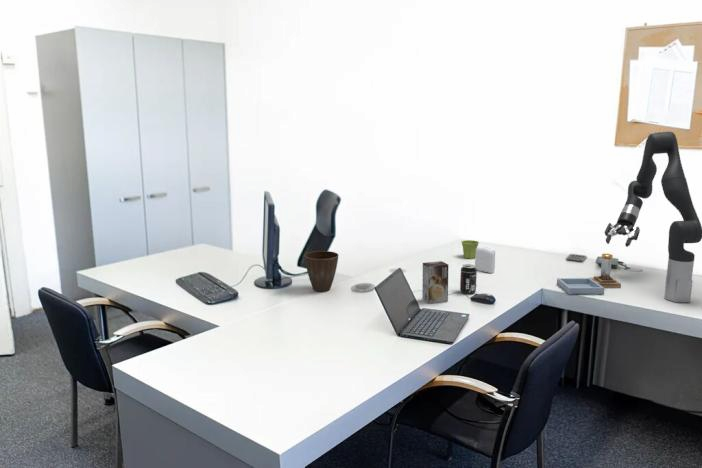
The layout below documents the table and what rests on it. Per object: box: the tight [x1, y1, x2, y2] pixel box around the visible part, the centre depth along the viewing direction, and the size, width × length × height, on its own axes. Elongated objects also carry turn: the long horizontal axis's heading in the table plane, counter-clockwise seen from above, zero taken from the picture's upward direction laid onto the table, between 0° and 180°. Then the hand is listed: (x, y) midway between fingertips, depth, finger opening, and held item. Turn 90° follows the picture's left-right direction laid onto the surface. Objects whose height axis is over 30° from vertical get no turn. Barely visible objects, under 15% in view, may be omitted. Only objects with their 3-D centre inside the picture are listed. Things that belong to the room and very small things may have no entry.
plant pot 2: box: [460, 239, 480, 260], centre depth 309 cm, size 9×9×9 cm
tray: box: [556, 277, 606, 296], centre depth 253 cm, size 15×15×3 cm
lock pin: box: [599, 253, 614, 280], centre depth 258 cm, size 4×4×12 cm
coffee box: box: [421, 260, 449, 304], centre depth 238 cm, size 9×6×16 cm
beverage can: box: [459, 263, 478, 295], centre depth 249 cm, size 7×7×12 cm
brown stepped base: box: [588, 275, 622, 289], centre depth 260 cm, size 10×10×3 cm
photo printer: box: [474, 245, 496, 274], centre depth 282 cm, size 10×4×12 cm, turn 39°
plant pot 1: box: [304, 250, 339, 293], centre depth 254 cm, size 15×15×16 cm
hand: (616, 244), depth 264 cm, fingers open, 8 cm apart
